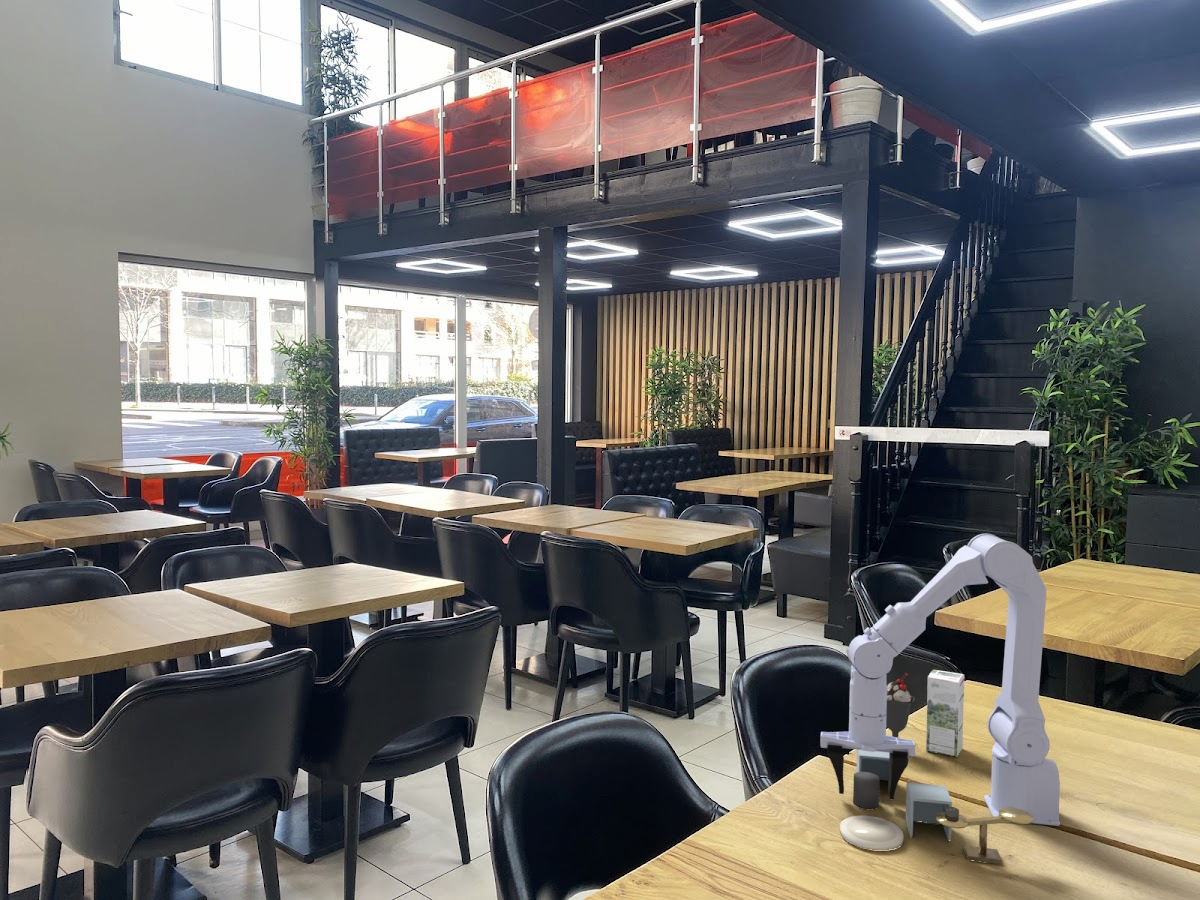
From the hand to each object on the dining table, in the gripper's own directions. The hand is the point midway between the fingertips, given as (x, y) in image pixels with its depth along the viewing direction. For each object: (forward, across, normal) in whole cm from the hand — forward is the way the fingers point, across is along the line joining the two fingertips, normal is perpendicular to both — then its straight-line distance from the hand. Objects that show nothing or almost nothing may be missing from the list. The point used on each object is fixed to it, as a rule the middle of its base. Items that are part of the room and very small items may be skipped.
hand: (865, 794), depth 138 cm
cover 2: (+2, +8, -7) cm, 11 cm away
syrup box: (+2, +16, +27) cm, 31 cm away
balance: (+2, +15, -14) cm, 20 cm away
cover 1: (+2, +2, +8) cm, 8 cm away
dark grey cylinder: (+2, 0, 0) cm, 2 cm away
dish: (+2, 0, -11) cm, 11 cm away
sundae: (+2, +7, +25) cm, 26 cm away
